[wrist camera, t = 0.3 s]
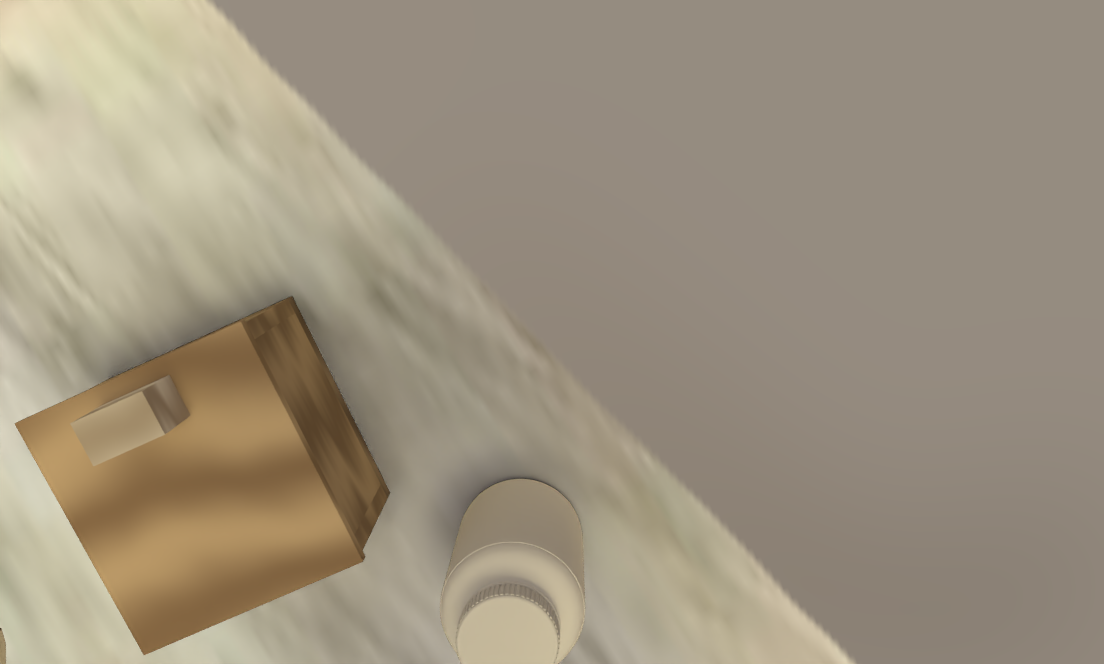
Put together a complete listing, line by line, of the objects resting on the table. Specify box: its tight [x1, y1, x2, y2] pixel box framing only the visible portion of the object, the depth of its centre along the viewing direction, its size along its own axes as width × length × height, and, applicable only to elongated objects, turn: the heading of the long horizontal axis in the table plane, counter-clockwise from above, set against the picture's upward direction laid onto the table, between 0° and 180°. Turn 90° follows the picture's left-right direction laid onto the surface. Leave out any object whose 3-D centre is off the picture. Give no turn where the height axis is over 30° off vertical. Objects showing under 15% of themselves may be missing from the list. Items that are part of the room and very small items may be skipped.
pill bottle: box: [440, 479, 585, 664], centre depth 59 cm, size 8×8×15 cm
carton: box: [93, 296, 390, 550], centre depth 61 cm, size 14×13×10 cm
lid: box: [15, 319, 365, 655], centre depth 53 cm, size 14×13×4 cm
